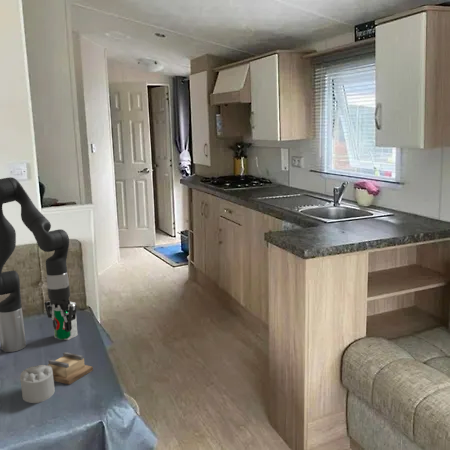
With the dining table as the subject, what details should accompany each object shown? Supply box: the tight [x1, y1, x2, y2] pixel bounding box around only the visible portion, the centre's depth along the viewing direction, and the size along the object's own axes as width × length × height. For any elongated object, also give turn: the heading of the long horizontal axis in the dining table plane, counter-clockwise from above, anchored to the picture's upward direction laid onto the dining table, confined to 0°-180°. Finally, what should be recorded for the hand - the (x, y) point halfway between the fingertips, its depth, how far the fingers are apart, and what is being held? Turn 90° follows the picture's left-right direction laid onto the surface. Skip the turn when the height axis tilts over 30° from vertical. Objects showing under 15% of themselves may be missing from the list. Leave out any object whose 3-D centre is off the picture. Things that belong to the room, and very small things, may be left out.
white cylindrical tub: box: [19, 364, 56, 404], centre depth 170 cm, size 10×13×9 cm
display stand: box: [47, 351, 94, 386], centre depth 184 cm, size 14×12×6 cm
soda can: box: [54, 307, 71, 341], centre depth 181 cm, size 5×5×12 cm
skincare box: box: [53, 301, 79, 341], centre depth 220 cm, size 8×7×16 cm
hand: (62, 329), depth 182 cm, fingers closed on soda can, 5 cm apart
